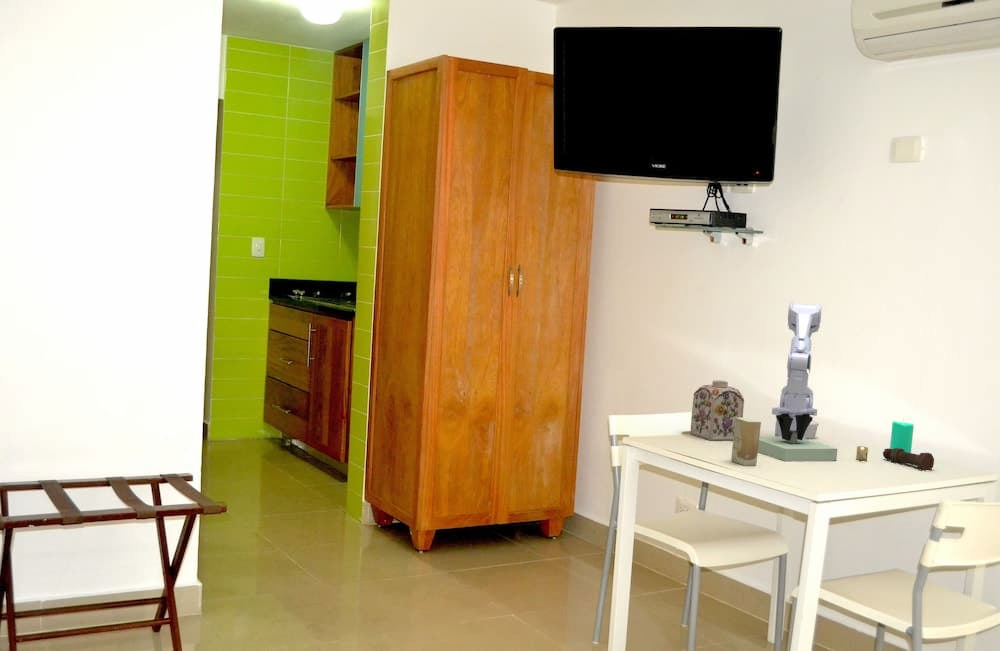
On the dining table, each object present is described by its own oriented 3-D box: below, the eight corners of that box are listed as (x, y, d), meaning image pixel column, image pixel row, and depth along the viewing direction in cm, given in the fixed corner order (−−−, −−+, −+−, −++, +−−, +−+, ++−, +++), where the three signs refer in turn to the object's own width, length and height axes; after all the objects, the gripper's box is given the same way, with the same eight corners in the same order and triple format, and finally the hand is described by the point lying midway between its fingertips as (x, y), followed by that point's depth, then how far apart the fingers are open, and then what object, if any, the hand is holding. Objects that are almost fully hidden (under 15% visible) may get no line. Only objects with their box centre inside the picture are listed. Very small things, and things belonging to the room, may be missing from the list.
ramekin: (797, 440, 309) (798, 423, 308) (774, 433, 319) (776, 417, 319) (824, 439, 313) (826, 423, 313) (801, 433, 323) (803, 417, 323)
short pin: (853, 459, 280) (854, 446, 280) (861, 459, 281) (863, 446, 281) (860, 461, 277) (862, 448, 277) (869, 461, 278) (870, 448, 278)
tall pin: (783, 453, 282) (785, 429, 281) (791, 453, 283) (793, 429, 282) (790, 455, 279) (791, 431, 279) (798, 455, 280) (800, 431, 280)
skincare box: (730, 460, 265) (734, 417, 264) (743, 460, 266) (747, 417, 265) (744, 465, 259) (748, 421, 258) (757, 465, 260) (761, 421, 259)
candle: (885, 456, 289) (889, 417, 288) (893, 454, 293) (897, 415, 293) (905, 460, 285) (909, 420, 284) (913, 458, 289) (917, 419, 288)
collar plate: (746, 448, 286) (747, 436, 286) (796, 448, 293) (797, 436, 292) (784, 461, 270) (785, 448, 269) (836, 460, 276) (837, 448, 276)
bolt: (886, 465, 285) (928, 475, 271) (876, 457, 283) (918, 467, 269) (895, 448, 286) (937, 457, 272) (885, 440, 284) (926, 449, 270)
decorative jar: (741, 440, 299) (746, 383, 298) (710, 441, 294) (715, 383, 293) (719, 433, 310) (724, 378, 309) (688, 433, 306) (693, 377, 304)
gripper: (784, 395, 274) (780, 442, 275) (825, 396, 279) (821, 442, 280) (769, 391, 280) (765, 437, 281) (809, 392, 285) (805, 437, 286)
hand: (792, 439), depth 281 cm, fingers open, 4 cm apart
